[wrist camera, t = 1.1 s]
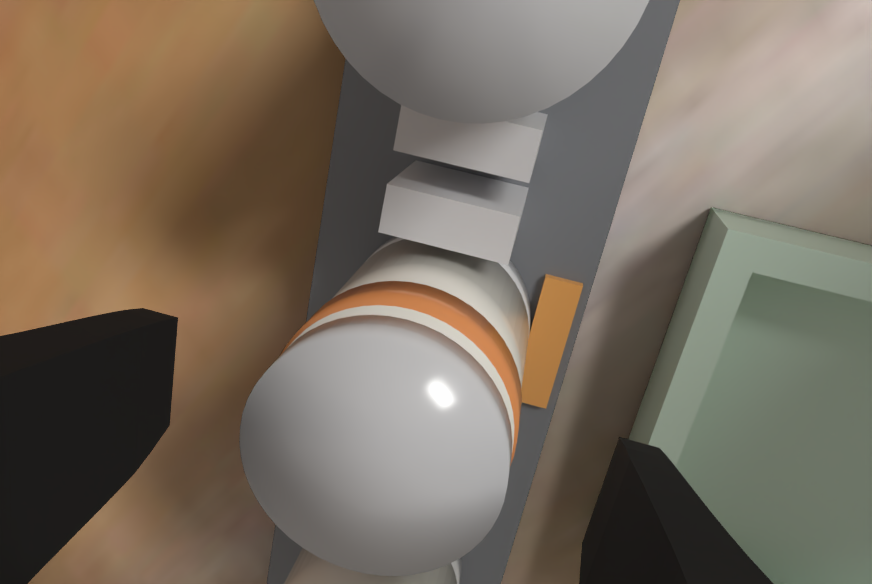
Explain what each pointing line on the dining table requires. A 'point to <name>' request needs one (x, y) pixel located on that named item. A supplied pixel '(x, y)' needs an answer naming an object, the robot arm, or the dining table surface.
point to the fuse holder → (492, 222)
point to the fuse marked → (394, 412)
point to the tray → (773, 395)
